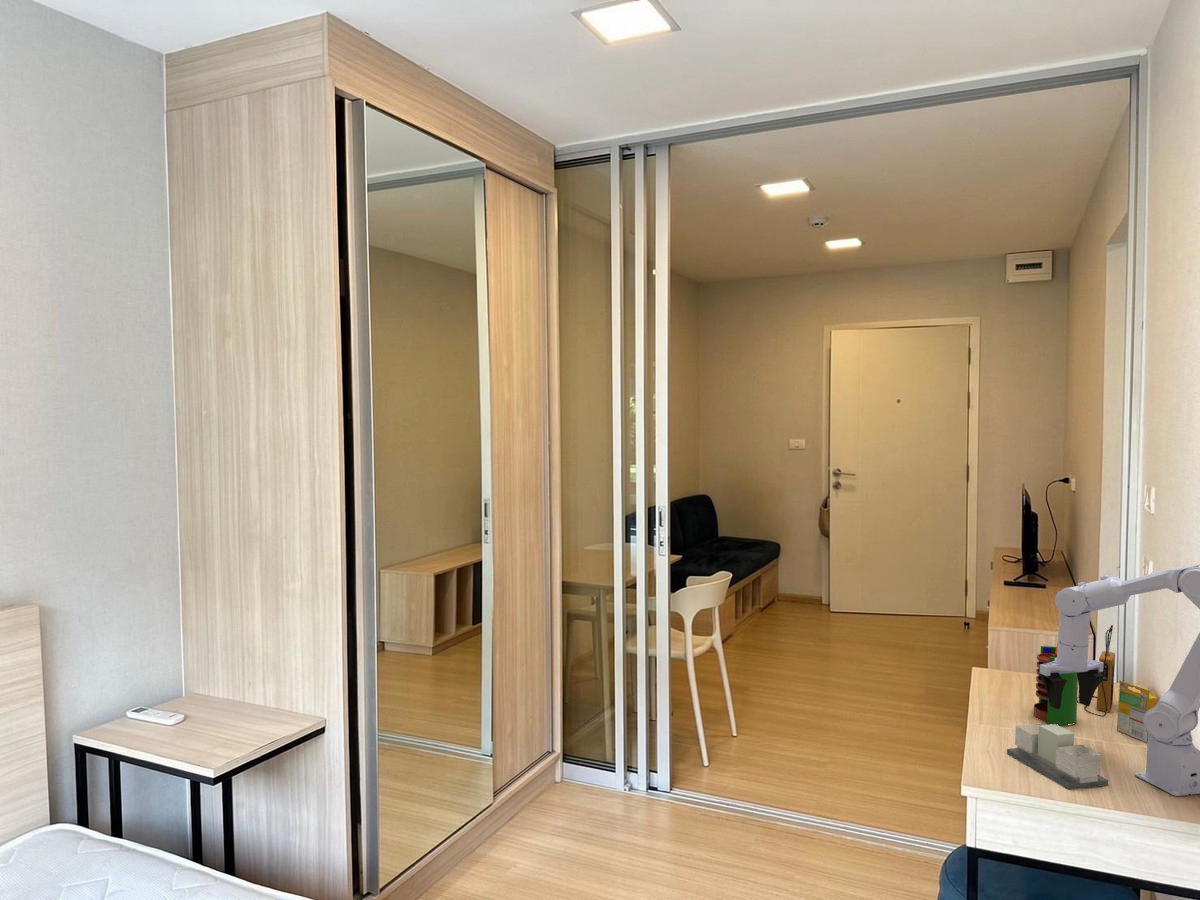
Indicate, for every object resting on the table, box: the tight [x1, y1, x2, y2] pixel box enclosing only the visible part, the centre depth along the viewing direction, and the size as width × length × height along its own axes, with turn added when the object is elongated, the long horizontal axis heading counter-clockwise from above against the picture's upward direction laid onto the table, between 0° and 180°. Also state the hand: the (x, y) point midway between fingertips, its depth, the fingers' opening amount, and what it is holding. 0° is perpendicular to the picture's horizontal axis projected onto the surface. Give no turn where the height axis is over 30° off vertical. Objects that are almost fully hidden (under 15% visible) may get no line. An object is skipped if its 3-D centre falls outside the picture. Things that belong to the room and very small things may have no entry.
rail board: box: [1006, 723, 1109, 790], centre depth 174 cm, size 17×9×6 cm, turn 14°
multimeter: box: [1077, 624, 1116, 717], centre depth 211 cm, size 15×10×20 cm
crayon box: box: [1116, 680, 1159, 743], centre depth 192 cm, size 7×3×12 cm, turn 20°
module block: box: [1038, 724, 1075, 764], centre depth 174 cm, size 5×4×6 cm
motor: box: [1033, 642, 1079, 725], centre depth 202 cm, size 10×9×20 cm
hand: (1069, 706), depth 184 cm, fingers open, 7 cm apart
